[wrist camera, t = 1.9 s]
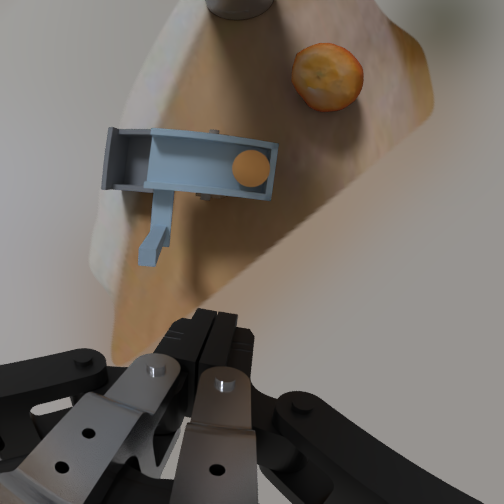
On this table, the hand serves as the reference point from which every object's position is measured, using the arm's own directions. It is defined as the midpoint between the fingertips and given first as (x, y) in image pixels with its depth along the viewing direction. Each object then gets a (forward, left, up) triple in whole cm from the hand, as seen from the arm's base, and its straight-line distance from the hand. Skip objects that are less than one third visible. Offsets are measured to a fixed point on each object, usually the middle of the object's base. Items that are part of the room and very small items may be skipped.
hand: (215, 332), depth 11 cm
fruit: (-19, +6, -25) cm, 32 cm away
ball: (-7, -1, -18) cm, 19 cm away
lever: (-4, -5, -19) cm, 20 cm away
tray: (-7, -14, -25) cm, 30 cm away
